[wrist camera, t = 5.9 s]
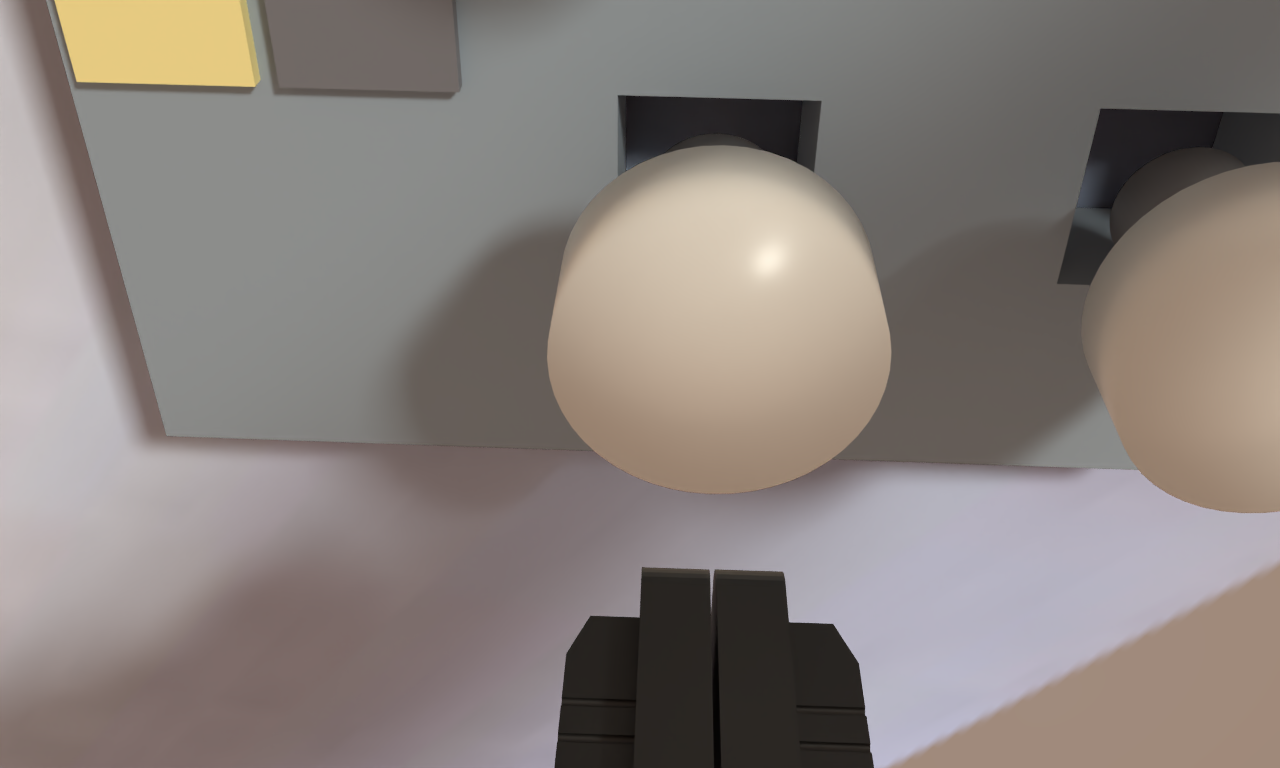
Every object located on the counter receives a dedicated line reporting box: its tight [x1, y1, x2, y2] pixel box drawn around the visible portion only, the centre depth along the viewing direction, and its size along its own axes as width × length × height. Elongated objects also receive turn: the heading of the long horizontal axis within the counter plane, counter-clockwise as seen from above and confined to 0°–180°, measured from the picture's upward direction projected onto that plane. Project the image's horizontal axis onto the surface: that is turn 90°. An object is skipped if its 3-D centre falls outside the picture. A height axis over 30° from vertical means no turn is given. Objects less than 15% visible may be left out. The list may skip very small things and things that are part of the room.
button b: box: [1081, 147, 1280, 513], centre depth 19 cm, size 5×5×5 cm
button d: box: [547, 133, 891, 494], centre depth 19 cm, size 5×5×5 cm
